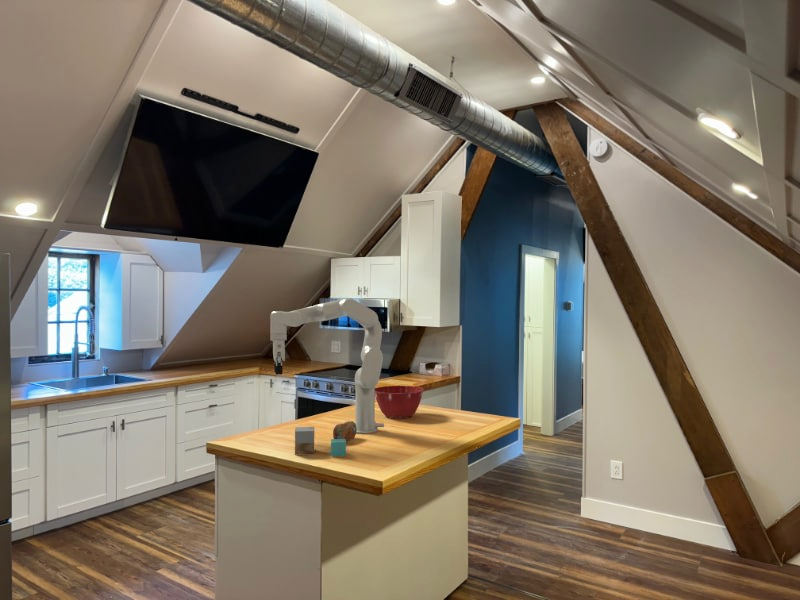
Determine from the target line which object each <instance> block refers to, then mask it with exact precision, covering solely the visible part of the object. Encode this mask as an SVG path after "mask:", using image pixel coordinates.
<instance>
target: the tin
mask: <svg viewBox="0 0 800 600" xmlns="http://www.w3.org/2000/svg"><path fill="white" fill-rule="evenodd" d="M332 430H333V431H332V436H333V438H332V439H345V440H346V442H348V440H349V441H351V440H353V439H354V438H355V437H356V434H357V433H356V431H357V429H356V424H355V421H353V420H352V421H344V422H341V423H338V424H336V425H335V426H334V428H333V429H332Z"/></svg>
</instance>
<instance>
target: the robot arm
mask: <svg viewBox="0 0 800 600" xmlns="http://www.w3.org/2000/svg"><path fill="white" fill-rule="evenodd" d="M346 316H347V317H348V318H351V319H352V320H354V321H355V322H357V323H358V324H359V325H360V326H362V328H363V329H364V339H363V345H362V348H361V352H360V359H361V361H362V363H361V364H362V365H361V367H360V368H358V369H357V370H356V371H355V374H354V385H355V386H354V387H355V390H354V391H355V404H354V405H355V414H354V415H355V419H354V420H355V421H354V423H355V424H356V429H357V431H356V434H364V435H365V434H374V433H376V432H378V430H379V429H378V428H384V427H385V424H384V422H376V419H375V417H376V415H375V405H376V404H375V403H376V402H375V400H376V397H375V388H376V386H377V385H378V383H379V381H380V376H381V373H382V367H383V361H384V356H383V352H382V350H381V345H382V339H383V329H382V324H381V323H380V321H379V316H378V314H377V312H375V311H374V310H373V309H371V308H369V307H368V306H366V305H364V304H363V303H361V302H358V301H357V300H355V299H354V298H350V297H349V298H348V297H346V298H341V299H336V300H333V301H332V300H331V301H328V302H322V303H319V304H315V305H313V306H312V305H311V306H308V307H305V308H299V309H295V310H292V311H280V310H278V311H272V312H271V313H270V330H269V331H270V334H269V335H270V338H269V339H270V342H271V341H272V354H273V361H274V365H273V366H274V369H273V370H274V373H275V375H276V376H277V375H283V368H284V367H283V362H285V361H286V357H285V354H286V352H285V351H286V349H285V348H286V347H285V346H286V345H285V341H287V333H288V332H287V327H294V328H296V327H300V326H301V325H304V324H309V323H314V322H324V321H325V322H326V321H331V320H335V319H338V318H343V317H346Z"/></svg>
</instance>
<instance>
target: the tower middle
mask: <svg viewBox="0 0 800 600" xmlns="http://www.w3.org/2000/svg"><path fill="white" fill-rule="evenodd" d="M294 433H295V434H294V444H295V443H314V444H315V426H296V427H295V429H294Z"/></svg>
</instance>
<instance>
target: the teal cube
mask: <svg viewBox="0 0 800 600" xmlns="http://www.w3.org/2000/svg"><path fill="white" fill-rule="evenodd" d="M331 456H346V457H347V441H346V440H345V439H334V438H331V439H330V457H331Z"/></svg>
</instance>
